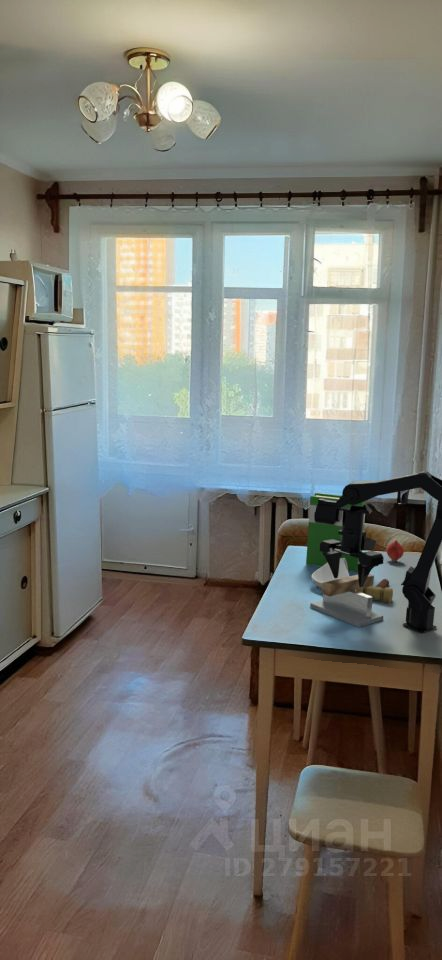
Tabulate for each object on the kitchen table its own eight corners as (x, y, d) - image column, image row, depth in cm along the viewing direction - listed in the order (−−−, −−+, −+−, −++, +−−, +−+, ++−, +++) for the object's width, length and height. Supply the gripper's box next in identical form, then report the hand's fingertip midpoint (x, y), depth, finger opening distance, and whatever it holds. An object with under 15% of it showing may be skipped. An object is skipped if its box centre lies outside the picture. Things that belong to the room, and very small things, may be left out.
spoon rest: (345, 597, 213) (347, 574, 212) (306, 591, 217) (308, 568, 216) (357, 576, 235) (359, 555, 234) (322, 571, 239) (324, 550, 238)
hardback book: (306, 564, 245) (310, 496, 241) (311, 559, 252) (315, 492, 248) (357, 571, 239) (362, 501, 235) (361, 566, 246) (366, 498, 242)
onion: (382, 559, 256) (384, 537, 254) (397, 558, 257) (398, 537, 256) (391, 564, 250) (393, 542, 249) (405, 563, 252) (407, 541, 251)
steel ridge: (371, 617, 193) (372, 596, 192) (366, 618, 191) (367, 598, 191) (327, 600, 205) (328, 581, 204) (322, 601, 204) (324, 582, 203)
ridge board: (383, 619, 195) (383, 615, 194) (358, 627, 188) (359, 622, 188) (334, 600, 208) (334, 597, 208) (310, 607, 202) (310, 603, 202)
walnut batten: (329, 596, 190) (330, 585, 190) (321, 593, 193) (322, 582, 192) (373, 585, 202) (374, 575, 201) (365, 582, 204) (365, 572, 203)
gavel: (372, 571, 230) (403, 576, 226) (371, 585, 231) (402, 590, 227) (356, 584, 211) (390, 590, 207) (355, 599, 212) (389, 605, 208)
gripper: (398, 531, 192) (393, 586, 195) (346, 517, 207) (342, 569, 209) (371, 536, 185) (367, 593, 188) (319, 521, 200) (316, 575, 202)
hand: (348, 582), depth 197 cm, fingers open, 9 cm apart
